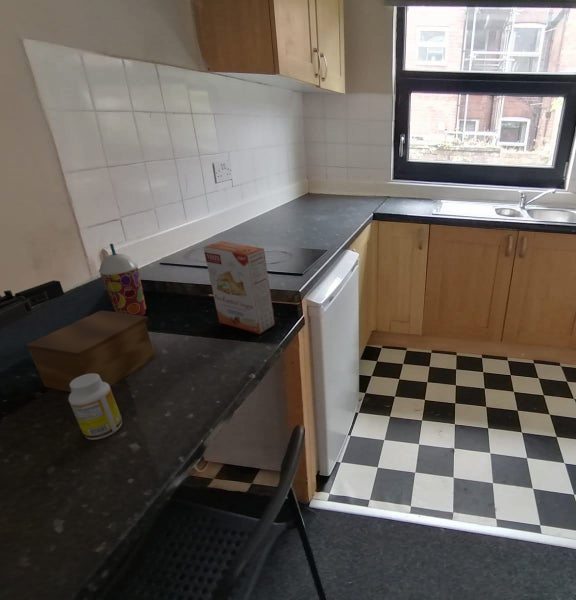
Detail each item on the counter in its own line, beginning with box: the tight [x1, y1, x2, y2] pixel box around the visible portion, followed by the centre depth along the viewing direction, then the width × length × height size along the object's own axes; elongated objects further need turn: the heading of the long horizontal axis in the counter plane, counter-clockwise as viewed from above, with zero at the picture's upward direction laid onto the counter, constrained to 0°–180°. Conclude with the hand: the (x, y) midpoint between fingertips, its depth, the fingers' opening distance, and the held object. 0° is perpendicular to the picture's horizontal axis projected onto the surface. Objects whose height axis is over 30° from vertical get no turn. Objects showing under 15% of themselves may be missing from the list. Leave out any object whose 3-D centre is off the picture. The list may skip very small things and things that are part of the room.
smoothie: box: [98, 243, 147, 316], centre depth 104 cm, size 8×8×20 cm
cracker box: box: [202, 240, 276, 335], centre depth 99 cm, size 14×6×21 cm, turn 65°
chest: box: [27, 322, 156, 393], centre depth 83 cm, size 15×13×9 cm
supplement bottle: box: [67, 373, 123, 441], centre depth 66 cm, size 6×6×10 cm
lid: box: [26, 309, 149, 357], centre depth 81 cm, size 16×13×1 cm
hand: (58, 287), depth 74 cm, fingers closed
